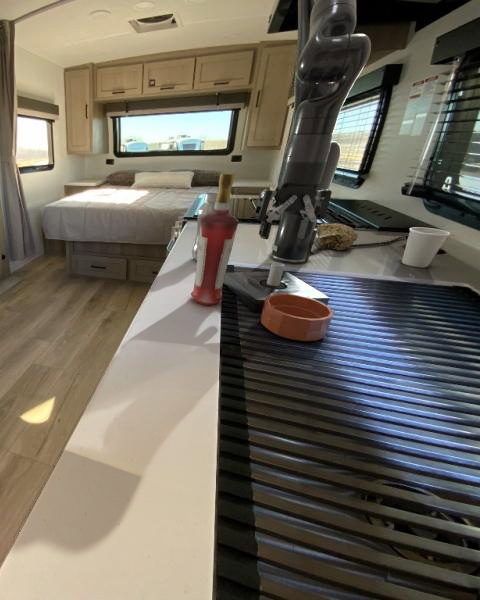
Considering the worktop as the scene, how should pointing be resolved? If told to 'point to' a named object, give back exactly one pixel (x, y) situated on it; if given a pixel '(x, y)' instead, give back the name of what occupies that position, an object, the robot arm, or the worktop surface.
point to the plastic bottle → (203, 211)
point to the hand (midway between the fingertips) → (282, 238)
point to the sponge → (336, 235)
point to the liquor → (215, 246)
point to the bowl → (296, 317)
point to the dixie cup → (423, 245)
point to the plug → (274, 277)
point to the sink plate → (255, 293)
